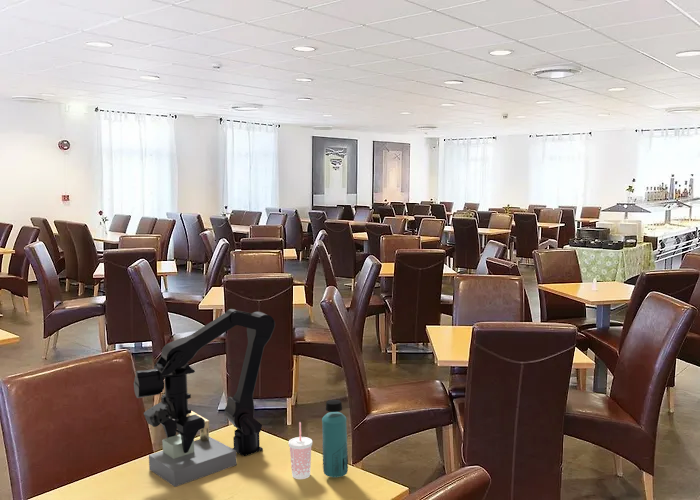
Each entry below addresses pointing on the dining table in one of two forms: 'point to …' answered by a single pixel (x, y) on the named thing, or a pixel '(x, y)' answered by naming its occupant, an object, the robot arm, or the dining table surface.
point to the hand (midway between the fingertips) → (178, 448)
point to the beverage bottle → (334, 440)
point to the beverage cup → (300, 456)
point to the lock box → (193, 462)
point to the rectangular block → (175, 447)
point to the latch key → (205, 431)
